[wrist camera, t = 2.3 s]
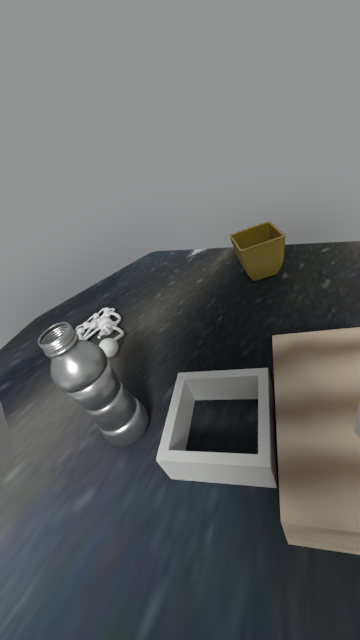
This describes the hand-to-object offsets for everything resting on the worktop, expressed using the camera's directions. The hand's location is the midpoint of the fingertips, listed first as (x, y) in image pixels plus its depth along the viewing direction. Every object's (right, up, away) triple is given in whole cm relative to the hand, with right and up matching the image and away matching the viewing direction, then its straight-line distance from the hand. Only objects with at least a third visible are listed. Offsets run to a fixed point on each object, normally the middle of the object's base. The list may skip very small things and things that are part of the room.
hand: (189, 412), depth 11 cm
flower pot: (+18, +13, +52) cm, 57 cm away
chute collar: (+6, -11, +27) cm, 30 cm away
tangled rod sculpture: (-19, -2, +54) cm, 57 cm away
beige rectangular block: (+18, -10, +22) cm, 30 cm away
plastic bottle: (-7, -13, +32) cm, 36 cm away
